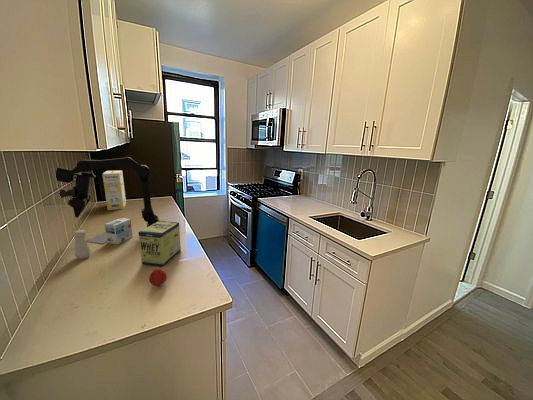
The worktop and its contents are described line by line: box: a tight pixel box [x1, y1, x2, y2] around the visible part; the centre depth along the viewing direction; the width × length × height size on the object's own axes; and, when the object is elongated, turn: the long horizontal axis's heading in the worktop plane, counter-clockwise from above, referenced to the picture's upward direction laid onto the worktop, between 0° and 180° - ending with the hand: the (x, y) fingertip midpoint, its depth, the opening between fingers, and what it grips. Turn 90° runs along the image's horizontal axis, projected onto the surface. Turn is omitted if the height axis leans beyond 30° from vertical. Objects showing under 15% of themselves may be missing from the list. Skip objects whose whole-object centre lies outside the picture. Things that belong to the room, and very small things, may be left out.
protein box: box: [138, 220, 182, 268], centre depth 103 cm, size 10×16×16 cm
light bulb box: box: [104, 217, 133, 245], centre depth 121 cm, size 11×7×11 cm, turn 168°
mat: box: [86, 231, 108, 245], centre depth 124 cm, size 12×14×1 cm
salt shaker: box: [72, 229, 91, 261], centre depth 101 cm, size 6×6×13 cm
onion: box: [149, 266, 168, 288], centre depth 83 cm, size 6×6×8 cm
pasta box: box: [102, 170, 127, 211], centre depth 179 cm, size 18×10×28 cm, turn 26°
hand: (78, 214), depth 113 cm, fingers open, 9 cm apart
